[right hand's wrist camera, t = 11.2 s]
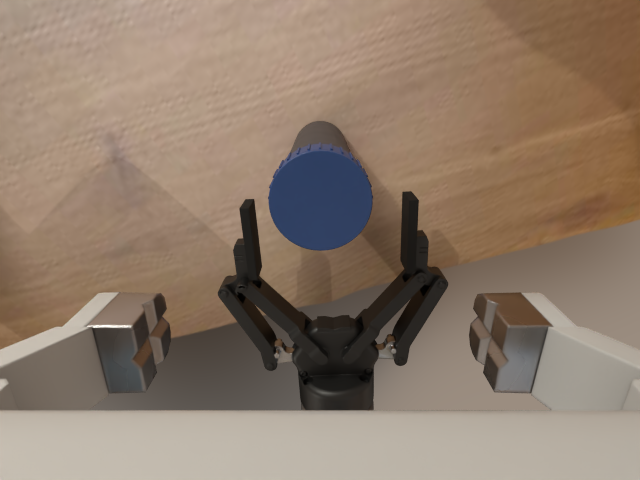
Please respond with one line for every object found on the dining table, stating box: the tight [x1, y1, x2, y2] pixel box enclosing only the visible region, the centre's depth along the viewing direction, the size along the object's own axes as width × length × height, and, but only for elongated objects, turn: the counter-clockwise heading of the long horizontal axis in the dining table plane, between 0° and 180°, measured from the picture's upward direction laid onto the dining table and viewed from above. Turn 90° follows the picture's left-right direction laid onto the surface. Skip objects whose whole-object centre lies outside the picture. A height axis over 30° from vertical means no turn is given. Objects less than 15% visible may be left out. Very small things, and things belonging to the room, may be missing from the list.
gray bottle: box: [290, 121, 351, 154], centre depth 29 cm, size 5×5×18 cm
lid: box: [268, 142, 373, 251], centre depth 21 cm, size 5×5×2 cm
